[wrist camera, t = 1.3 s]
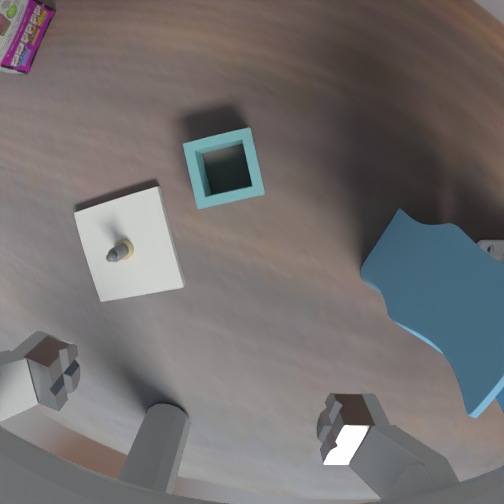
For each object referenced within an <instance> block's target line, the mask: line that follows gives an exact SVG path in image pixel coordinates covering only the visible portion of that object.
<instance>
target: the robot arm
mask: <svg viewBox="0 0 504 504" xmlns="http://www.w3.org/2000/svg"><path fill="white" fill-rule="evenodd" d="M477 245H478V246H479V247H480V248H482V249H483V250H484V251H485V252H487V253H488V254H489V255H490V256H492V257H493V258H495V259H496V260H498V261H499V262H501V263H503V264H504V240H480V241H479V242H478V243H477ZM487 249H488V250H487ZM77 356H78V351H77V346H76V345H75V344H73V343H71V342H68V341H65V340H63V339H60V338H57V337H55V336H52V335H49V334H47V333H44V332H42V331H36V332H35V333H34V334H32V335H31V336H30V337H29V338H28V339H26V340H25V341H24V342H23V343H22V344H20V345H19V346H18V347H17V348H16V349H15V350H13V351H12V352H11V351H9V350H8V351H3V352H0V421H2V420H5V419H7V418H9V417H11V416H14V415H16V414H18V413H20V412H22V411H24V410H27V409H29V408H31V407H33V406H35V405H37V404H38V403H40V404H42V405H45V406H47V407H49V408H52V409H54V410H57V411H60V409H61V408H62V407H63V405H64V404H65V403H66V401H67V400H68V398H67V394H68V393H71V392H73V391H74V390H75V389H76V387H77V386H78V383H79V380H80V366H79V365H78V363H77V362H76V360H75V359H76V357H77ZM325 404H326V409H325V410H323V411H322V412H321V413H320V416H319V418H318V422H317V437H318V439H319V440H320V441H321V442H322V443H323V444H322V446H321V448H320V451H321V455H322V459H323V464H349V466H350V467H351V468H352V470H353V471H354V472H355V473H356V474H357V475H358V476H359V477H360V478H361V479H362V480H363V481H364V482H365V483H366V484H367V485H368V486H369V487H370V488H371V489H372V490H373V491H374V492H375V493H376V494H377V495H378V496H379V497H380V498H381V499H380V501H376V502H370V503H361V504H504V466H502V467H500V468H497V469H495V470H493V471H490V472H487V473H485V474H482V475H480V476H477V477H474V478H471V479H468V480H465V481H462V482H459V480H458V478H457V476H456V475H455V473H454V471H453V469H452V467H451V466H450V464H449V462H448V460H447V459H446V458H445V457H444V456H442V455H441V454H439V453H437V452H436V451H434V450H432V449H431V448H429V447H428V446H426V445H425V444H423V443H421V442H420V441H418V440H417V439H415V438H414V437H412V436H411V435H409V434H407V433H406V432H404V431H403V430H401V429H400V428H398V427H397V426H395V425H390V423H389V421H388V419H387V417H386V415H385V413H384V411H383V409H382V407H381V405H380V403H379V401H378V399H377V397H376V395H374V394H339V393H330V394H329V395H328V397H327V399H326V401H325ZM0 504H228V503H220V502H213V501H205V500H200V499H194V498H189V497H184V496H178V495H174V494H169V493H165V492H161V491H157V490H153V489H149V488H145V487H142V486H138V485H134V484H131V483H128V482H125V481H121V480H118V479H115V478H112V477H109V476H106V475H104V474H101V473H98V472H95V471H93V470H90V469H87V468H85V467H82V466H80V465H77V464H75V463H73V462H70V461H68V460H66V459H63V458H61V457H59V456H57V455H55V454H53V453H50V452H48V451H46V450H44V449H42V448H40V447H38V446H36V445H34V444H32V443H31V442H28V441H27V440H25V439H23V438H21V437H19V436H18V435H16V434H14V433H13V432H11V431H9V430H7V429H6V428H4V427H3V426H1V425H0Z"/></svg>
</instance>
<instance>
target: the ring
mask: <svg viewBox="0 0 504 504" xmlns="http://www.w3.org/2000/svg"><path fill="white" fill-rule="evenodd" d="M239 144H243V145H244V150H245V154H246V159H247V163H248V168H249V172H250V177H251V181H252V186H248V187H243V188H239V189H234V190H230V191H225V192H221V193H217V194H212V195H211V191H210V187H209V182H208V178H207V174H206V169H205V165H204V160H203V156H202V153H205V152H209V151H213V150H217V149H222V148H226V147H230V146H234V145H239ZM183 147H184V152H185V156H186V161H187V165H188V170H189V174H190V178H191V183H192V187H193V191H194V196H195V200H196V204H197V208H198V209H202V208H206V207H210V206H214V205H219V204H223V203H228V202H232V201H237V200H241V199H246V198H250V197H255V196H260V195H265V192H264V188H263V183H262V179H261V174H260V170H259V165H258V160H257V156H256V152H255V147H254V143H253V138H252V134H251V129H250V127H249V128H245V129H240V130H236V131H231V132H227V133H223V134H219V135H215V136H211V137H207V138H203V139H199V140H195V141H191V142H188V143H184V144H183Z"/></svg>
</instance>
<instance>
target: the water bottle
mask: <svg viewBox="0 0 504 504" xmlns="http://www.w3.org/2000/svg"><path fill="white" fill-rule="evenodd" d="M190 424H191V423H190V421H189V418H188V416H187V415H186V413H184V412H183V411H182V410H181V409H180V408H178V407H176V406H173V405H170V404H155V405H154V406H152V407H150V408H149V409H148V411H147V413H146V415H145V418H144V420H143V422H142V424H141V427H140V429H139V431H138V433H137V436H136V438H135V440H134V443H133V445H132V447H131V450H130V452H129V454H128V457H127V459H126V461H125V464H124V466H123V468H122V471H121V473H120V476H119V478H118V480H121V481H125V482H128V483H131V484H134V485H138V486H142V487H145V488H149V489H153V490H157V491H161V492H165V493H169V494H172V493H173V489H174V485H175V481H176V477H177V474H178V470H179V466H180V462H181V459H182V455H183V451H184V447H185V443H186V440H187V436H188V432H189V428H190Z"/></svg>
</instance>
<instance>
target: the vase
mask: <svg viewBox="0 0 504 504" xmlns="http://www.w3.org/2000/svg"><path fill="white" fill-rule="evenodd" d="M361 278H362V280H363V281H364V282H366V283H367V284H368V285H370V286H371V287H373V288H374V289H376V290H377V291H378V292H380V293H381V294H382V295H383V297H384V299H385V303H386V307H387V311H388V315H389V317H390V318H391V319H392V320H393V321H394V322H396V323H397V324H399V325H400V326H402V327H403V328H405V329H406V330H408V331H409V332H411V333H413V334H414V335H416V336H417V337H419V338H421V339H422V340H424V341H425V342H427V343H428V344H430V345H431V346H433V347H434V348H436V349H437V350H438V351H440V352H441V353H443V354H444V356H445V357H446V358H447V360H448V361H449V363H450V365H451V367H452V369H453V371H454V373H455V375H456V377H457V380H458V383H459V386H460V389H461V392H462V396H463V400H464V404H465V408H466V411H467V414H468V415H469V416H471V417H473V418H477V417H478V416H479V415H480V414H481V413H482V412H483V411H484V409H485V408H486V407H487V406H488V405H489V404H490V403H491V401H492V400H493V399H494V398H495V397H496V399H497V401H498V402H499V404H500V406H501V408H502V410H503V412H504V264H503V263H501V262H499V261H498V260H496V259H495V258H493V257H492V256H490V255H489V254H488V253H487V252H485V251H484V250H483V249H482V248H480V247H479V246H478V245H477V244H476V243H475V242H474V241H473V240H472V239H471V238H470V237H468V236H467V235H466V234H465V233H464V232H463V231H462V230H461V229H460V228H459V227H458V226H457V225H454V224H451V223H446V224H440V225H426V224H421V223H419V222H417V221H415V220H414V219H412V218H411V217H409V216H408V215H407V214H406V213H405V212H404V211H402V210H401V209H400V208H399V209H398V211H397V212H396V214H395V215H394V217H393V219H392V220H391V222H390V223H389V225H388V227H387V228H386V230H385V231H384V233H383V234H382V236H381V237H380V239H379V240H378V242H377V243H376V245H375V246H374V248H373V249H372V251H371V252H370V254H369V255H368V257H367V259H366V260H365V262H364V263H363V265H362V268H361Z"/></svg>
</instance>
